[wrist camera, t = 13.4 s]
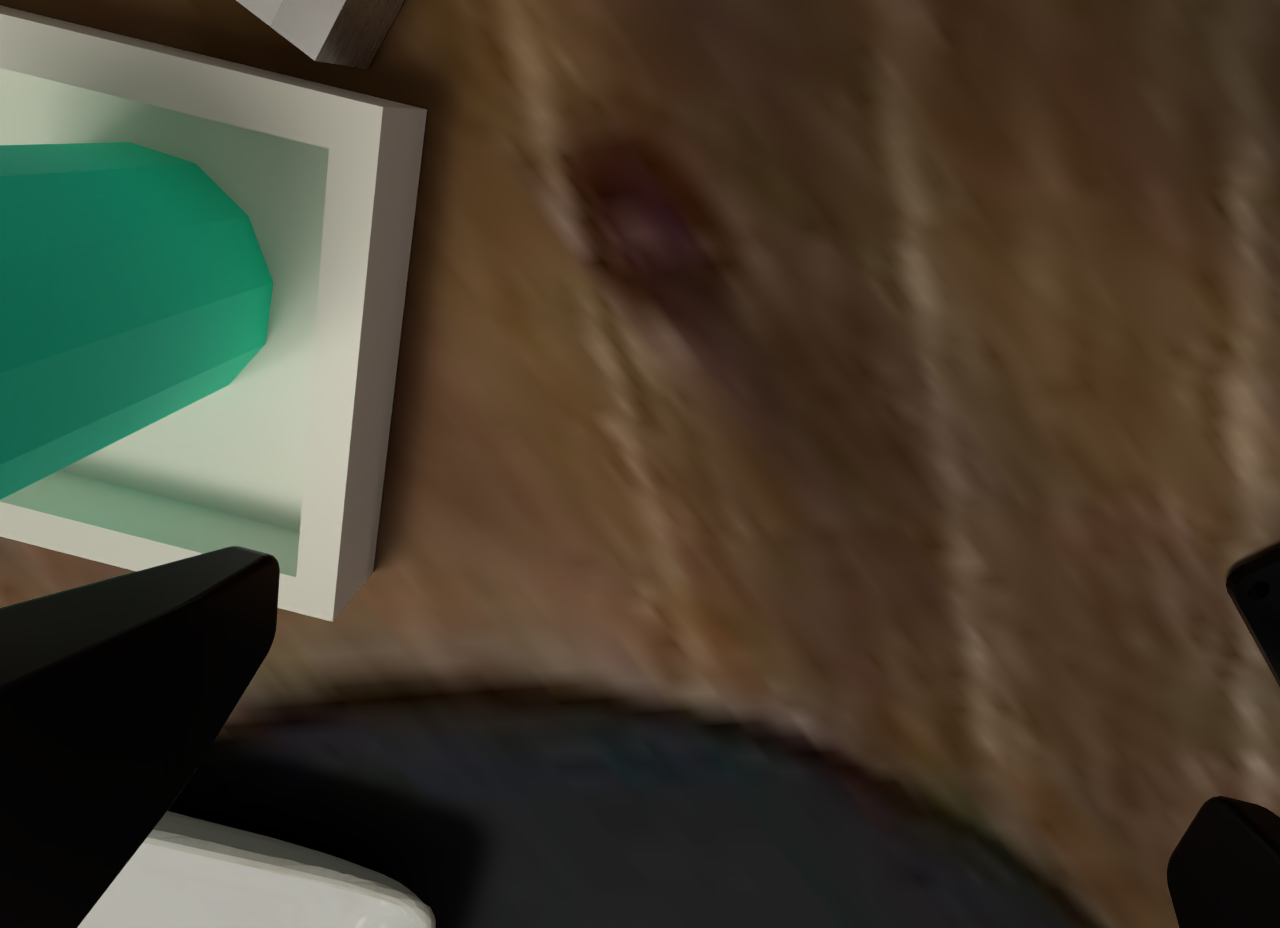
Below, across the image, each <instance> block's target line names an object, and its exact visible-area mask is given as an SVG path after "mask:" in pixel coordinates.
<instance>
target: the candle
mask: <svg viewBox="0 0 1280 928" xmlns="http://www.w3.org/2000/svg"><path fill="white" fill-rule="evenodd" d="M272 290H273V280H272V277H271V275H270V272H269V269H268V267H267V264H266V261H265V259H264V256H263V253H262V251H261V248H260V245H259V243H258V240H257V237H256V235H255V232H254V229H253V227H252V224H251V221H250V219H249V216H248V215H247V214H246V213H245V212H244V211H243V210H242V209H241V208H240V207H239V206H238V205H237V204H236V203H235V202H234V201H233V200H232V199H231V198H230V197H229V196H228V195H227V194H226V193H225V192H224V191H223V190H222V189H221V188H220V187H219V186H218V185H217V184H216V183H215V182H214V181H213V180H212V179H211V178H210V177H209V176H208V175H207V174H206V173H205V172H204V171H203V170H202V169H201V168H200V167H199V166H198V165H197V164H196V163H193V162H190V161H187V160H183V159H180V158H177V157H174V156H171V155H168V154H165V153H162V152H159V151H156V150H153V149H150V148H147V147H143V146H140V145H137V144H134V143H131V142H111V143H71V144H30V145H0V500H1V499H3V498H5V497H7V496H9V495H11V494H13V493H15V492H17V491H19V490H21V489H23V488H25V487H27V486H29V485H31V484H33V483H35V482H37V481H39V480H41V479H43V478H45V477H47V476H49V475H51V474H53V473H55V472H57V471H59V470H61V469H63V468H65V467H67V466H69V465H71V464H73V463H75V462H77V461H79V460H81V459H83V458H85V457H87V456H89V455H91V454H93V453H95V452H97V451H99V450H101V449H103V448H105V447H107V446H108V445H110V444H112V443H114V442H116V441H118V440H120V439H122V438H124V437H126V436H128V435H130V434H132V433H134V432H136V431H138V430H140V429H142V428H144V427H146V426H148V425H150V424H152V423H154V422H156V421H158V420H160V419H162V418H164V417H166V416H168V415H170V414H172V413H174V412H176V411H178V410H180V409H182V408H184V407H186V406H188V405H190V404H192V403H194V402H196V401H198V400H200V399H202V398H204V397H206V396H208V395H210V394H212V393H214V392H216V391H218V390H220V389H222V388H224V387H226V386H228V385H229V384H230V383H231V382H232V381H233V380H234V379H235V378H236V377H237V376H238V374H239V373H240V372H241V371H242V370H243V369H244V368H245V367H246V365H247V364H248V363H249V362H250V361H251V360H252V359H253V358H254V356H255V355H256V354H257V353H258V352H259V351H260V350H261V349H262V347H263V346H264V345H265V344H266V337H267V329H268V321H269V314H270V306H271V298H272Z"/></svg>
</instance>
